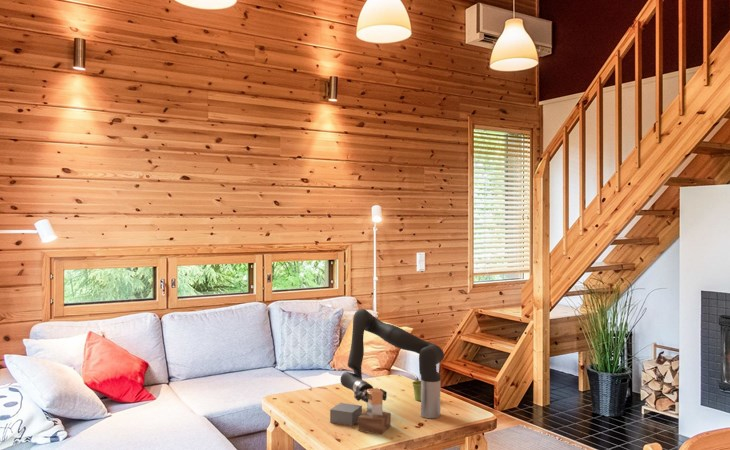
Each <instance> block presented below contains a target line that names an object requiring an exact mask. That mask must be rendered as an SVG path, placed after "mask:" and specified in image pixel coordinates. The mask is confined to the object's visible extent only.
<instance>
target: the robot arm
mask: <svg viewBox="0 0 730 450" xmlns="http://www.w3.org/2000/svg"><path fill="white" fill-rule="evenodd" d="M365 332H367V333H371V334H373V335H374V336H378V337H379V338H380V339H381V340H383V341H384V342H386V343H387V344H389V345H392V346H393V347H395V348H398V349H400V350H403V351H404V350H405V351H409V352H412V353H416V354H419V355H418V357H419V358H418V367H419V375H420V381H421V401H420V416H421V417H422V418H425V419H439V418H440V417H441V373H440V372H438V371H437V365H438V364H440V363H441V362H442V361H443V360H444V359H445V353H444V350H443V349H442V347H441V346H440V345H437V344H435V343H433V342H430V341H426V340H425V339H422V338H419V337H418V336H416V335H414V334H412V333H410V332H408V331H406V330H405V329H403V328H400V327H398V326H396V325H394V324H389V323H385V322H383V321H381V320H380V319H378V318H376V317H375V316H374V315H373V314H372V313H371V312H369V311H368V310H367V309H364V308H360V309H357V310H356V311H355V313H354V314H353V317H352V333H351V334H352V336H351V342H350V343H351V344H350V345H351V346H350V350H349V355H348V359H347V367H348V368H349V369H351V370H352V371H353V372H349V371H346V372H343V373H342V375H341V377H340V384H341V385H342V387H345V388H346V389H348V390H351V391H352V392H353V397H354V399H355V400H357V402H359V401H360V400H361V401H363V402H365V403H366V404H367V402H368V397H367V389H373V388H374V386H373V385H372V384H371V383H369V382H367V381H366V380H364V379H363V374H362V371H363V370H362V365H363V360H364V355H365V354H364V352H365V349H364V348H365V346H364V345H365V344H364V334H365ZM379 389H380V390H381V391H382V392H383V401H386V400H387V397H388V396H387V394H388V392H387V391H386V390H384V389H382V388H379Z"/></svg>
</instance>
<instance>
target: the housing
mask: <svg viewBox="0 0 730 450" xmlns="http://www.w3.org/2000/svg"><path fill="white" fill-rule="evenodd" d="M380 389H381V388H379V387H376V388H375V387H373V389H367V397H368V402H367V403H366V411H367V414H368V415H369V416H371V417H372V418H373V417H381V416H382V412H383V401H384V400H383V392H382V391H381V390H380Z"/></svg>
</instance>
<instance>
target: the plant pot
mask: <svg viewBox="0 0 730 450" xmlns="http://www.w3.org/2000/svg"><path fill="white" fill-rule="evenodd" d="M411 384H412V387H413V393H414V399H415V401H417V402H421V380H415V381H412V383H411Z"/></svg>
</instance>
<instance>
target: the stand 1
mask: <svg viewBox="0 0 730 450" xmlns="http://www.w3.org/2000/svg"><path fill="white" fill-rule="evenodd" d="M329 412H330V413H329V421H330V423H331V424H332V423H333V424H337V425H344V426H349V427H352V426H354V425H355V424H356V423H358V417H359V416H360V415H362V414H363V405H359V404H351V403H345V402H339V403H338V404H337V405H335V406H333V407H332V408H330V409H329Z"/></svg>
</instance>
